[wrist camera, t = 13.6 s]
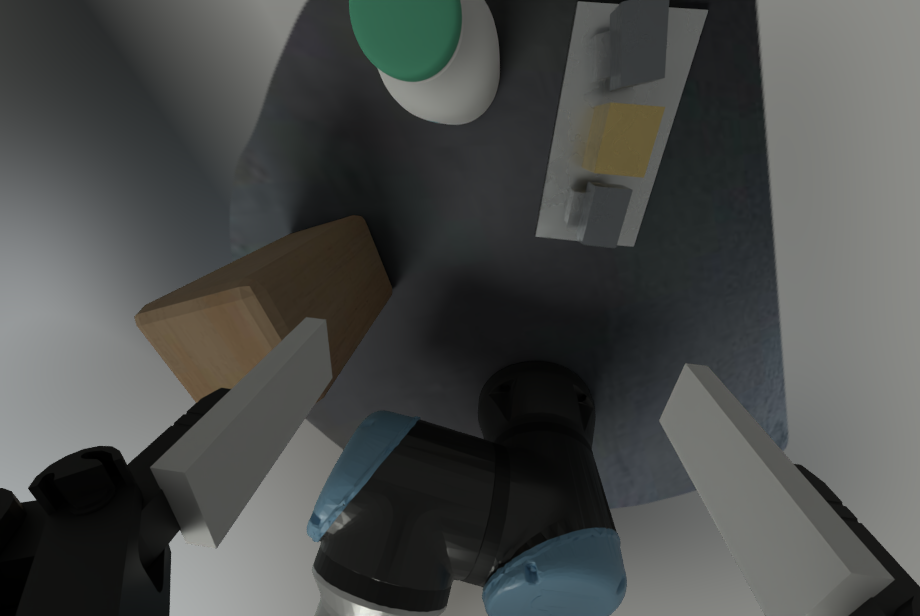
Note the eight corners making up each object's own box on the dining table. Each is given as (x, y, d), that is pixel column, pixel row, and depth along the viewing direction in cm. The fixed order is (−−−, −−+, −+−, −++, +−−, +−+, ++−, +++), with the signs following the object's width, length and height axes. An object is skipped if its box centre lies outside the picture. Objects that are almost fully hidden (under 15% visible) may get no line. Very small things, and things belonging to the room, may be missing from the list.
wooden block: (325, 309, 44) (208, 428, 27) (287, 233, 40) (118, 315, 23) (397, 292, 42) (322, 409, 24) (364, 210, 38) (246, 280, 20)
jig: (630, 243, 37) (652, 263, 31) (534, 233, 37) (540, 251, 32) (701, 13, 28) (748, -14, 23) (575, 5, 29) (592, -24, 23)
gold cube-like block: (624, 171, 33) (644, 177, 28) (581, 167, 33) (594, 172, 29) (641, 110, 31) (665, 106, 26) (594, 106, 31) (610, 102, 26)
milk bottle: (491, 10, 29) (476, -171, 12) (506, 113, 33) (513, 93, 15) (404, 38, 31) (274, -86, 13) (427, 134, 34) (347, 138, 16)
